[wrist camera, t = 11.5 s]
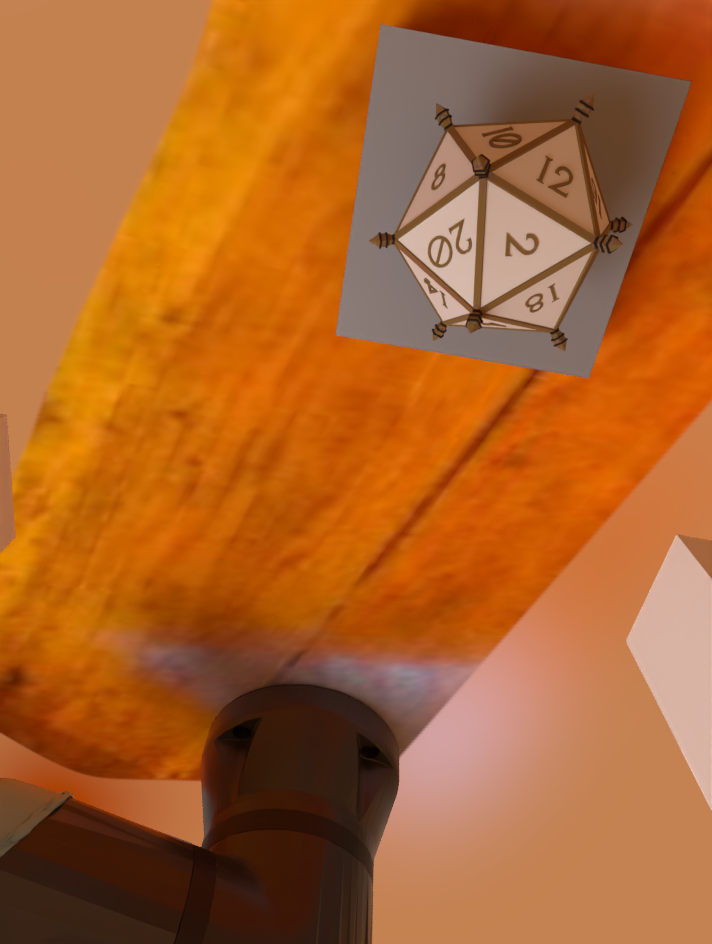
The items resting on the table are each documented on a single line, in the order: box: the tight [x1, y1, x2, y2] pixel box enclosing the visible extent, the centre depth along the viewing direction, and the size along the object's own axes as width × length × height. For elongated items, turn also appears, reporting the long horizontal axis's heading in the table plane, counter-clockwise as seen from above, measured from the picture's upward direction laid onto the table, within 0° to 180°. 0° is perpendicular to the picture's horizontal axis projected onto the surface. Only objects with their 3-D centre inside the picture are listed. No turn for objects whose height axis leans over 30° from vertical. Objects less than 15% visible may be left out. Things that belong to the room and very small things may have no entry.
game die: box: [369, 92, 633, 351], centre depth 23 cm, size 9×8×10 cm
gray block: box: [336, 24, 692, 378], centre depth 29 cm, size 12×12×5 cm
